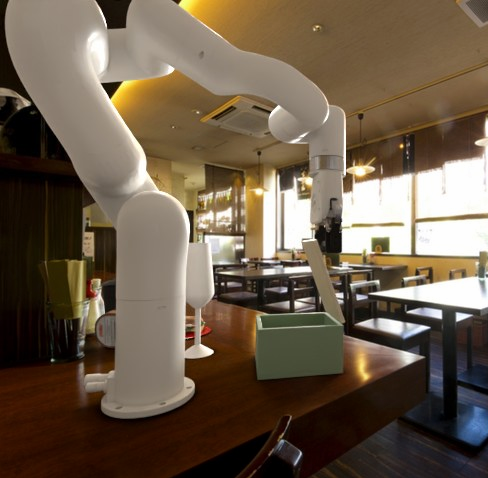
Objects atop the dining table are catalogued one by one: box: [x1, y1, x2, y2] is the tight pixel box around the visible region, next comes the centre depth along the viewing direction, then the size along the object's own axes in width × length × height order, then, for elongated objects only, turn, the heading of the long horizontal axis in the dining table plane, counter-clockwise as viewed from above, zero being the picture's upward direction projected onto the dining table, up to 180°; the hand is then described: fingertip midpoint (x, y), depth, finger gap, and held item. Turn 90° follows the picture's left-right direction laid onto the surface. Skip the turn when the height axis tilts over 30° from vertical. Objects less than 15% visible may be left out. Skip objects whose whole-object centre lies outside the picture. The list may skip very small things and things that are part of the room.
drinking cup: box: [100, 277, 116, 314], centre depth 85 cm, size 8×8×20 cm
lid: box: [300, 238, 346, 325], centre depth 67 cm, size 16×13×5 cm
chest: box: [254, 311, 344, 381], centre depth 65 cm, size 16×13×9 cm
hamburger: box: [185, 315, 212, 339], centre depth 88 cm, size 14×14×6 cm
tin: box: [94, 310, 116, 349], centre depth 75 cm, size 15×3×8 cm, turn 84°
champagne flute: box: [185, 242, 215, 359], centre depth 72 cm, size 7×7×24 cm
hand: (327, 252), depth 67 cm, fingers open, 9 cm apart
